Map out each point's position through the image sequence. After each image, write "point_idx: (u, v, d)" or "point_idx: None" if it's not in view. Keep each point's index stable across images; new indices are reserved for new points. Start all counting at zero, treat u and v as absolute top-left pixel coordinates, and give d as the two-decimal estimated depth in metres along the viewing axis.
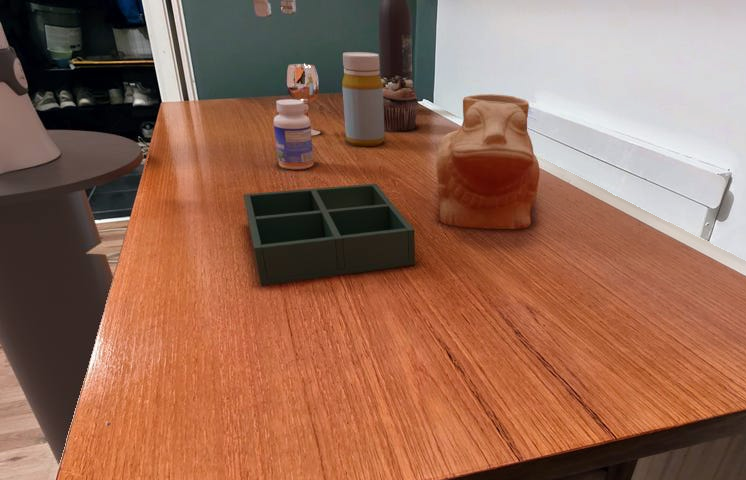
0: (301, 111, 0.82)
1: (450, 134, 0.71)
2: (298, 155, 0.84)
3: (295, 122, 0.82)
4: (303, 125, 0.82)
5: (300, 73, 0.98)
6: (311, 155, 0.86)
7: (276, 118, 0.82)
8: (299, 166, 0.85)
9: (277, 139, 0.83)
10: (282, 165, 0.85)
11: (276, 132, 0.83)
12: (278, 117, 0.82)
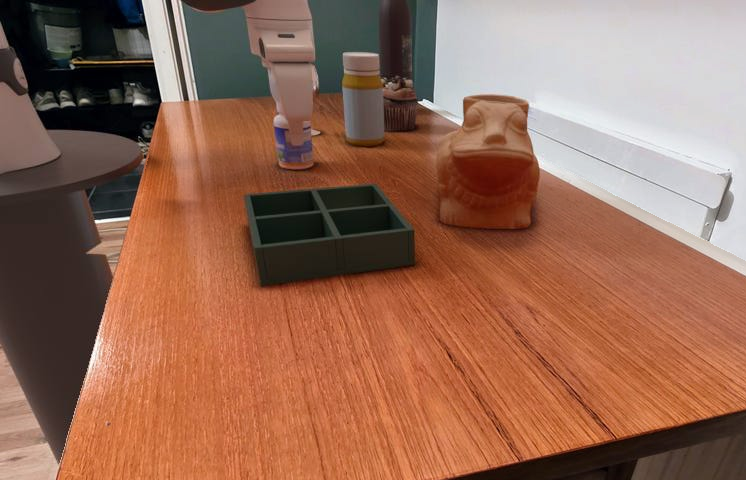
0: None
1: (450, 134, 0.71)
2: (298, 155, 0.84)
3: None
4: (303, 125, 0.82)
5: None
6: (311, 155, 0.86)
7: (276, 118, 0.82)
8: (299, 166, 0.85)
9: (277, 139, 0.83)
10: (282, 165, 0.85)
11: (276, 132, 0.83)
12: (278, 117, 0.82)
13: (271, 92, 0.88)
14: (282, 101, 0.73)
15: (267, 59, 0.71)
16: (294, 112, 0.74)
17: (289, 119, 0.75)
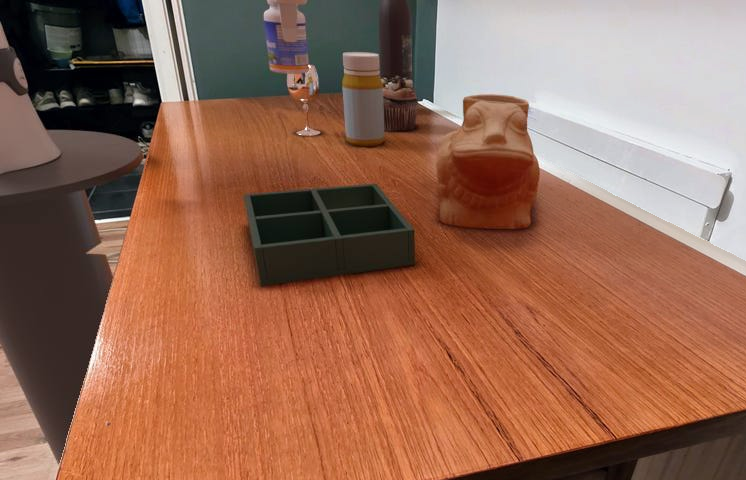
0: None
1: (450, 134, 0.71)
2: (291, 55, 0.74)
3: None
4: (297, 20, 0.73)
5: None
6: (306, 58, 0.76)
7: (266, 11, 0.72)
8: (293, 69, 0.75)
9: (268, 37, 0.74)
10: (273, 68, 0.75)
11: (266, 28, 0.73)
12: (269, 10, 0.72)
13: None
14: None
15: None
16: None
17: (281, 0, 0.65)
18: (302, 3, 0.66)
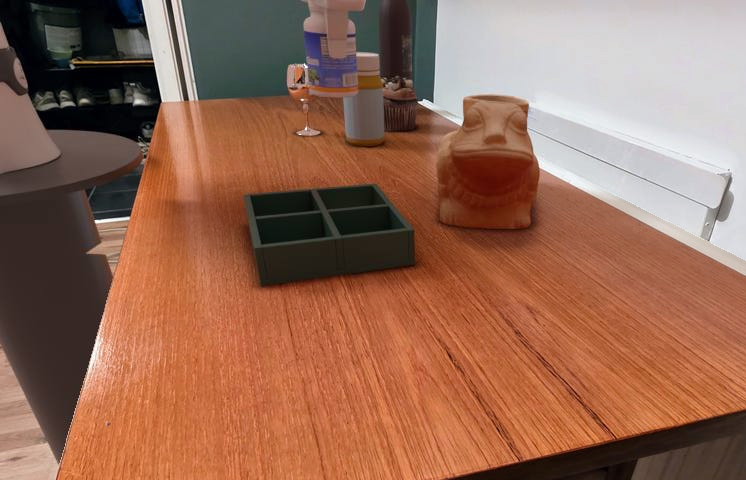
0: None
1: (450, 134, 0.71)
2: (338, 75, 0.58)
3: None
4: None
5: (300, 73, 0.98)
6: (355, 78, 0.60)
7: (308, 19, 0.57)
8: (340, 92, 0.59)
9: (309, 51, 0.58)
10: (315, 91, 0.60)
11: (307, 41, 0.57)
12: (311, 18, 0.57)
13: None
14: None
15: None
16: None
17: (332, 5, 0.49)
18: (359, 9, 0.50)
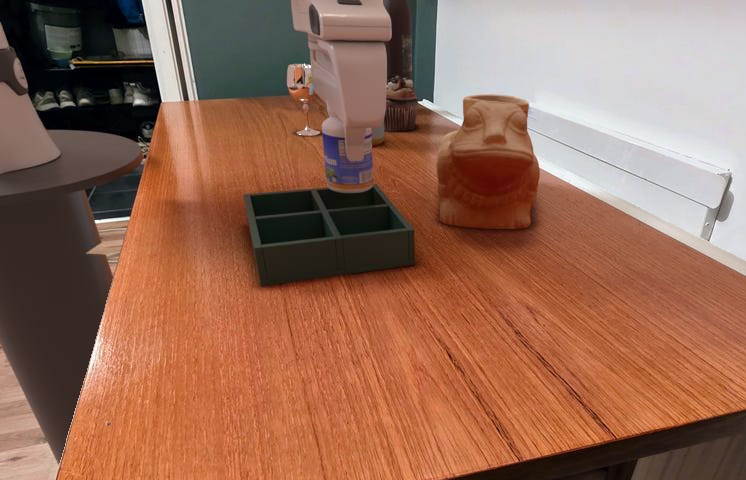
0: None
1: (450, 134, 0.71)
2: (355, 173, 0.60)
3: None
4: None
5: (300, 73, 0.98)
6: (371, 173, 0.62)
7: (326, 123, 0.59)
8: (356, 188, 0.61)
9: (327, 152, 0.60)
10: (332, 187, 0.62)
11: (326, 142, 0.59)
12: (329, 121, 0.59)
13: (314, 87, 0.64)
14: (344, 99, 0.49)
15: (323, 36, 0.48)
16: (360, 115, 0.51)
17: (352, 125, 0.51)
18: (377, 126, 0.52)
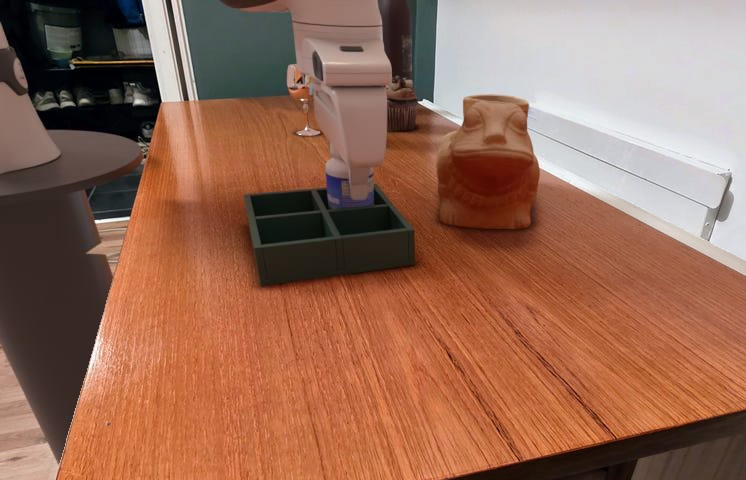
0: None
1: (450, 134, 0.71)
2: None
3: None
4: None
5: (300, 73, 0.98)
6: None
7: (329, 164, 0.61)
8: None
9: (330, 191, 0.62)
10: None
11: (329, 182, 0.62)
12: (332, 162, 0.61)
13: (317, 120, 0.66)
14: (345, 142, 0.51)
15: (326, 83, 0.50)
16: (361, 157, 0.52)
17: (353, 166, 0.53)
18: (378, 166, 0.54)
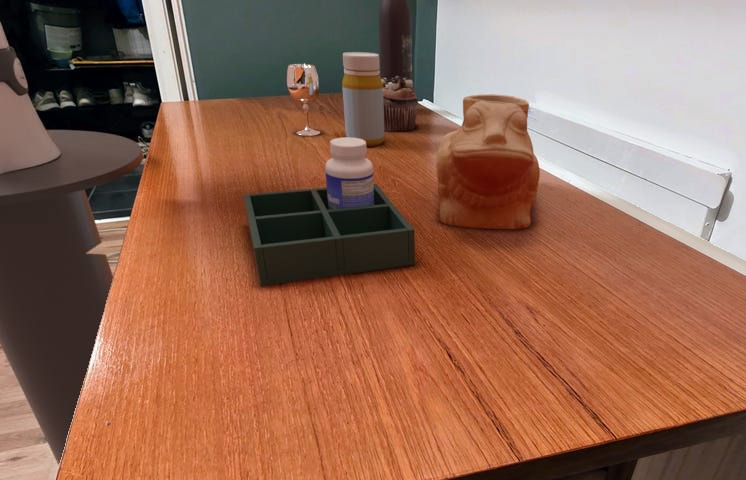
0: (363, 154, 0.61)
1: (450, 134, 0.71)
2: None
3: (356, 170, 0.60)
4: (365, 173, 0.61)
5: (300, 73, 0.98)
6: None
7: (329, 164, 0.61)
8: None
9: (330, 191, 0.62)
10: None
11: (329, 182, 0.62)
12: (332, 162, 0.61)
13: None
14: None
15: None
16: None
17: None
18: None
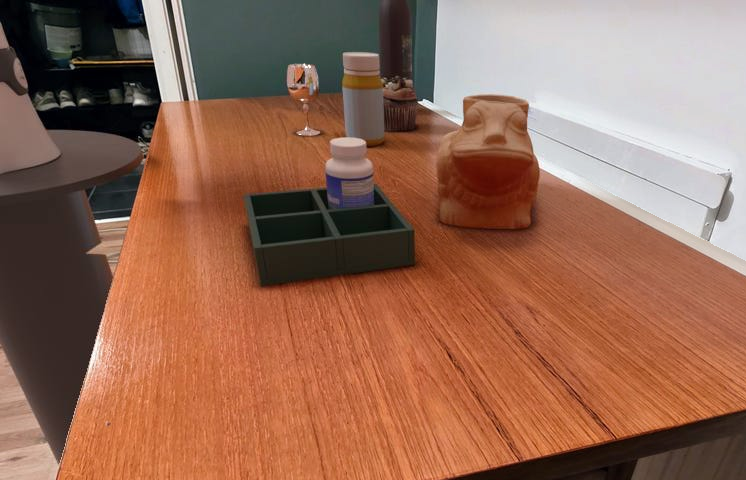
0: (363, 154, 0.61)
1: (450, 134, 0.71)
2: None
3: (356, 170, 0.60)
4: (365, 173, 0.61)
5: (300, 73, 0.98)
6: None
7: (329, 164, 0.61)
8: None
9: (330, 191, 0.62)
10: None
11: (329, 182, 0.62)
12: (332, 162, 0.61)
13: None
14: None
15: None
16: None
17: None
18: None
